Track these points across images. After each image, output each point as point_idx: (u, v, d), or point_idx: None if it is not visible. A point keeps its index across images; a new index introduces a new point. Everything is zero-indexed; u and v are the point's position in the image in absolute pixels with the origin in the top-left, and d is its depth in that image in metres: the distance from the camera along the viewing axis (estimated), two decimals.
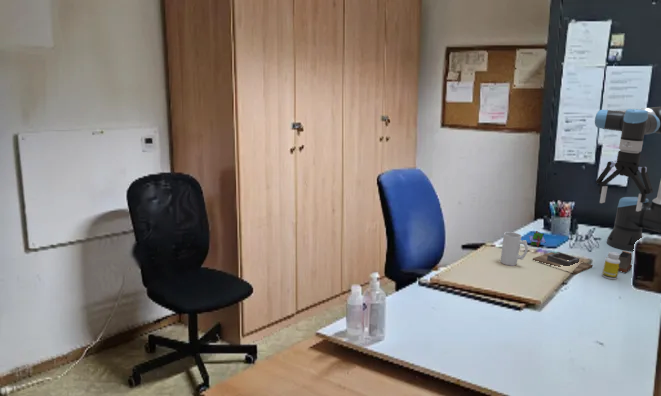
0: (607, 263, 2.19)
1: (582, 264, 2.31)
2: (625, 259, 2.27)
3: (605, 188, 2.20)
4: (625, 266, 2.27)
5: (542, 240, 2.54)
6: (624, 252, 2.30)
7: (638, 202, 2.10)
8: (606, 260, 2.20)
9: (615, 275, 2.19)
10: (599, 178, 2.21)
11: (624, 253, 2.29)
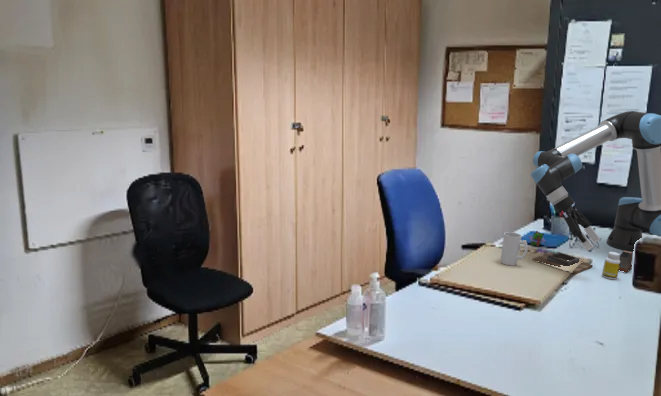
0: (607, 263, 2.19)
1: (582, 264, 2.31)
2: (626, 259, 2.27)
3: (587, 229, 2.29)
4: (626, 266, 2.27)
5: (542, 240, 2.54)
6: (625, 252, 2.31)
7: None
8: (606, 260, 2.20)
9: (615, 275, 2.19)
10: None
11: (624, 253, 2.29)
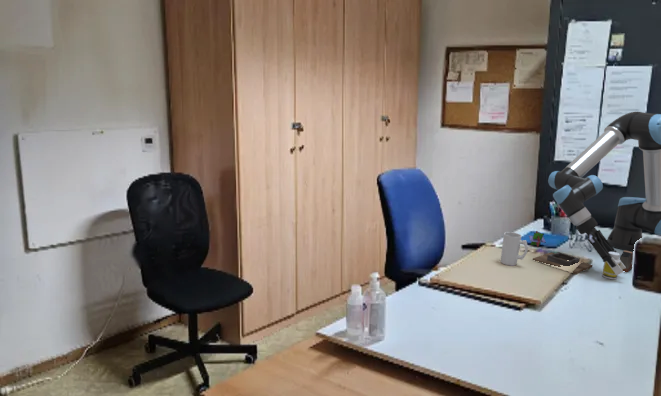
0: (607, 263, 2.19)
1: (582, 264, 2.31)
2: (626, 259, 2.27)
3: None
4: (626, 266, 2.28)
5: (542, 240, 2.54)
6: (625, 252, 2.31)
7: None
8: None
9: (615, 275, 2.19)
10: None
11: (625, 253, 2.30)
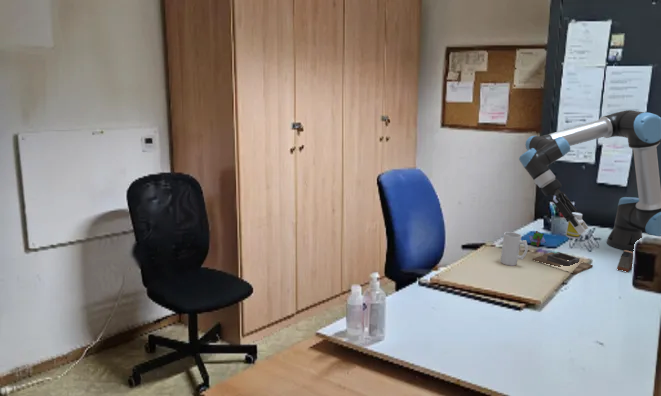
0: (570, 223, 2.26)
1: (582, 264, 2.31)
2: (627, 259, 2.28)
3: None
4: (627, 265, 2.28)
5: (542, 240, 2.54)
6: (626, 252, 2.31)
7: None
8: None
9: (578, 235, 2.26)
10: None
11: (625, 253, 2.30)
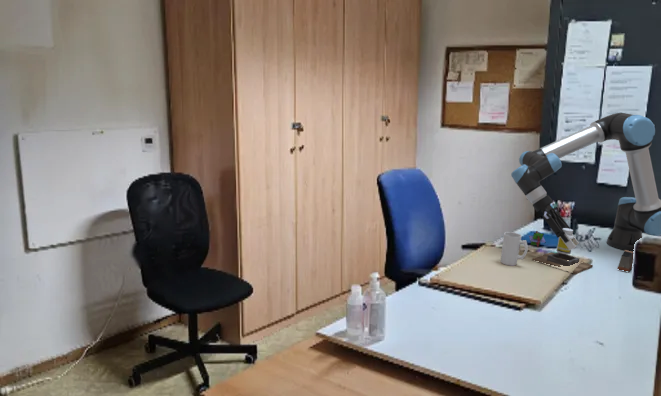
0: (561, 239, 2.29)
1: (582, 264, 2.31)
2: (628, 258, 2.28)
3: None
4: (628, 265, 2.28)
5: (542, 240, 2.54)
6: (626, 252, 2.31)
7: None
8: None
9: (568, 250, 2.29)
10: None
11: (626, 253, 2.30)
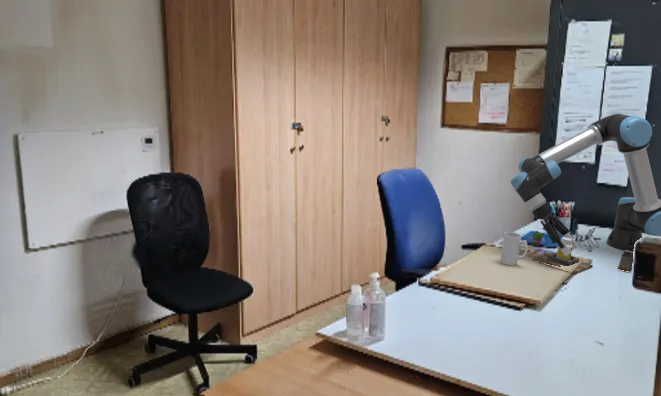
0: None
1: (582, 264, 2.31)
2: (628, 258, 2.28)
3: (566, 236, 2.36)
4: (628, 265, 2.28)
5: (542, 240, 2.54)
6: (626, 251, 2.31)
7: None
8: None
9: (568, 259, 2.30)
10: None
11: (626, 253, 2.30)
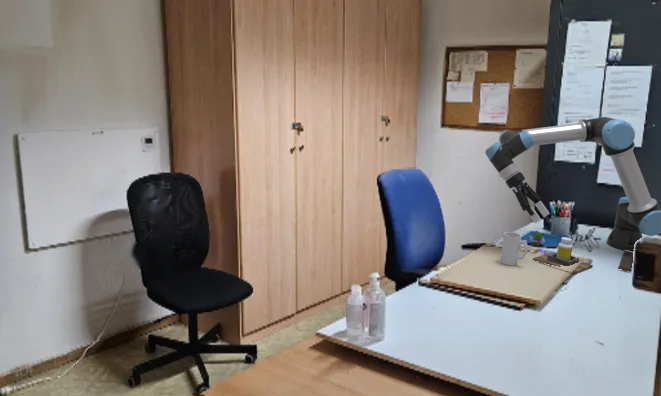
0: (560, 248, 2.30)
1: (582, 264, 2.31)
2: (628, 258, 2.28)
3: (538, 204, 2.42)
4: (628, 265, 2.29)
5: (542, 240, 2.54)
6: (627, 251, 2.32)
7: None
8: (559, 245, 2.31)
9: (568, 259, 2.30)
10: None
11: (627, 252, 2.31)
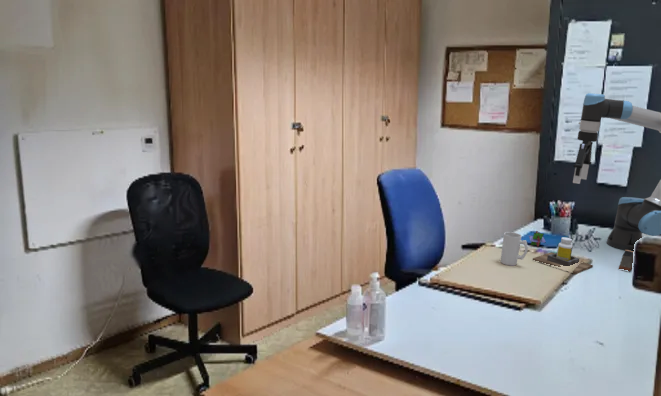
0: (560, 248, 2.30)
1: (582, 264, 2.31)
2: (629, 258, 2.28)
3: (584, 166, 2.46)
4: (629, 265, 2.29)
5: (542, 240, 2.54)
6: (627, 251, 2.32)
7: (574, 174, 2.37)
8: (559, 245, 2.31)
9: (568, 259, 2.30)
10: None
11: (627, 252, 2.31)
